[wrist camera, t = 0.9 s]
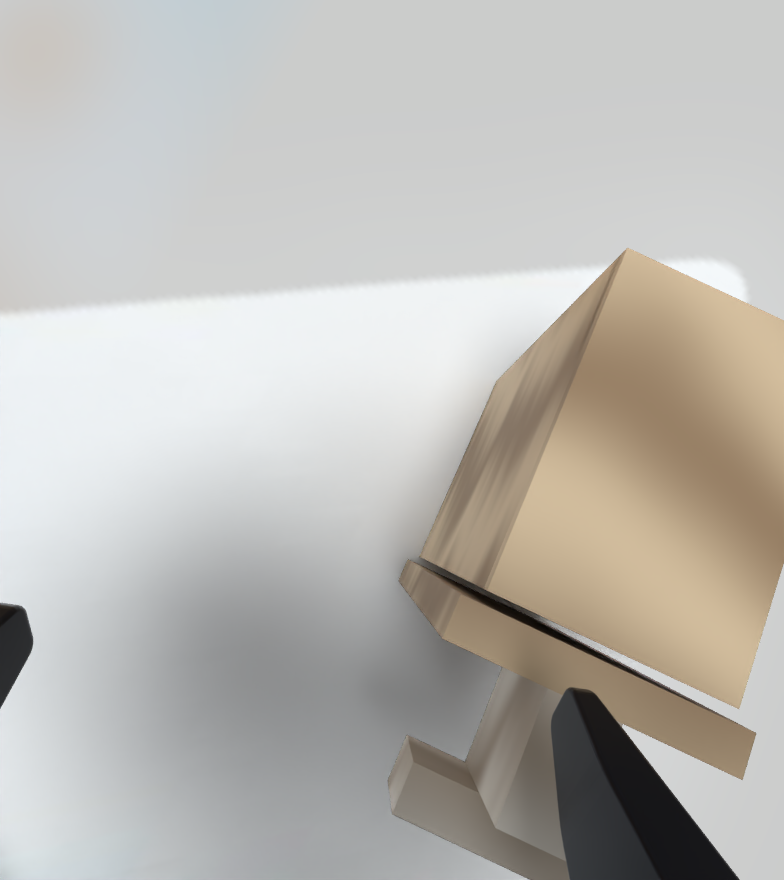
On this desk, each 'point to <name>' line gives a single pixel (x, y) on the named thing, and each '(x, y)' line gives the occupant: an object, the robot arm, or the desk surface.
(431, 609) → the flap
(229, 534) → the desk surface
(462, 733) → the desk surface
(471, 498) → the carton
